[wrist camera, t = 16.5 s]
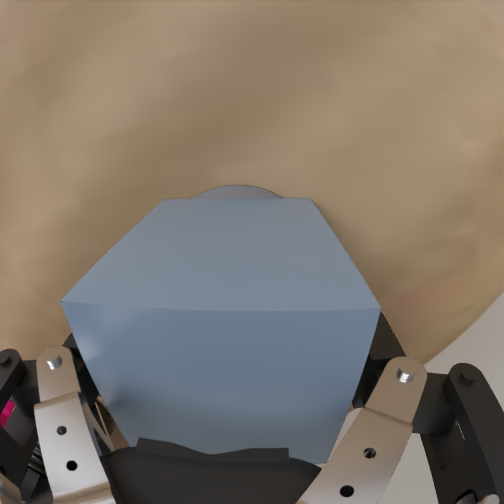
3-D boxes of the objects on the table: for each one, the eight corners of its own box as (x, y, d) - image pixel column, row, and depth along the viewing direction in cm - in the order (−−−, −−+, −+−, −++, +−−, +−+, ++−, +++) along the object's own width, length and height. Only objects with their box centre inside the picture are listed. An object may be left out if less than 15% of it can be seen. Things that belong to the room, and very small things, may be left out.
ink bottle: (17, 365, 20) (-41, 455, 9) (80, 370, 19) (18, 495, 8) (67, 428, 24) (33, 512, 13) (132, 438, 23) (103, 542, 12)
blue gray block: (164, 199, 14) (60, 300, 6) (310, 198, 14) (380, 308, 6) (179, 318, 16) (134, 454, 8) (300, 320, 16) (325, 462, 8)
